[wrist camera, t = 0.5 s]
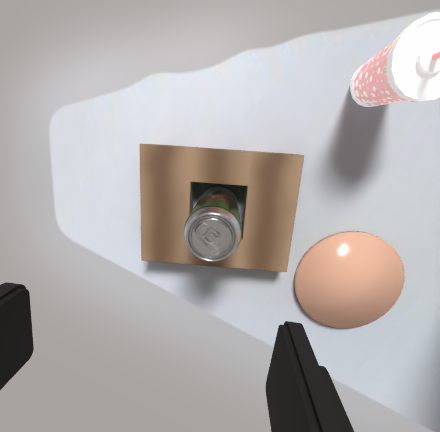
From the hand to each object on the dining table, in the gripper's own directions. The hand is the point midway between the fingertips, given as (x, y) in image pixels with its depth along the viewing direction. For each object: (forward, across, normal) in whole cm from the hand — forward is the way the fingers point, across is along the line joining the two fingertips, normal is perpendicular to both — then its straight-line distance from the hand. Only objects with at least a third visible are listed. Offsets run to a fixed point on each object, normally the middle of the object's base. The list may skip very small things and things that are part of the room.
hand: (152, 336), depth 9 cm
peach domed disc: (+24, -20, +8) cm, 32 cm away
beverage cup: (+24, -16, -16) cm, 33 cm away
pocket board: (+24, -1, 0) cm, 24 cm away
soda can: (+24, -1, 0) cm, 24 cm away
